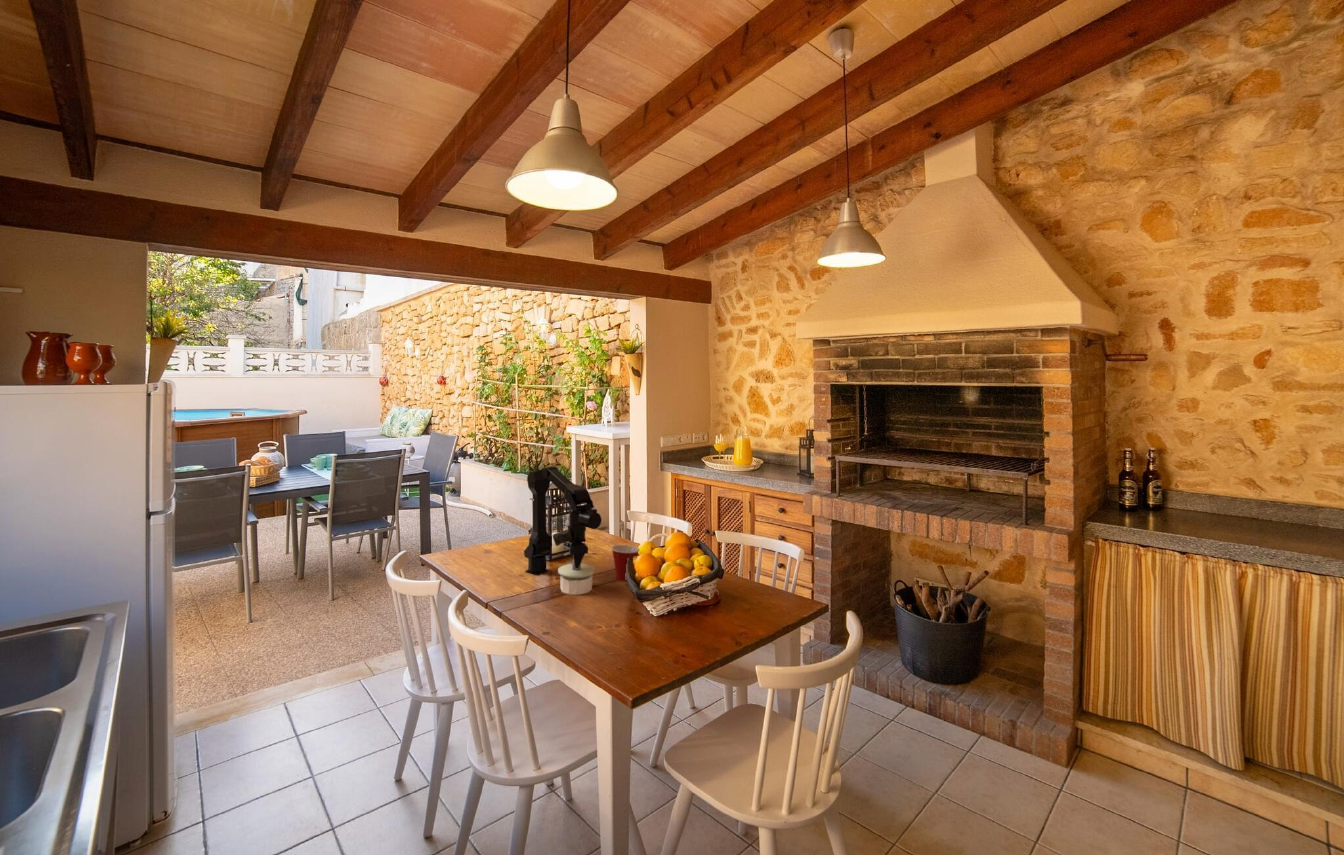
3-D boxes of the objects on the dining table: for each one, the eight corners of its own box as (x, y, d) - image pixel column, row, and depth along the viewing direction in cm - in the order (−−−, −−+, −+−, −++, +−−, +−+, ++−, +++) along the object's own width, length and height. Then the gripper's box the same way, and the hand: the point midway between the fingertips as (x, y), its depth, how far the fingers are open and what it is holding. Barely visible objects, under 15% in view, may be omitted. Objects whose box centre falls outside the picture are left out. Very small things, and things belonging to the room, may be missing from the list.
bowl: (554, 590, 212) (554, 576, 211) (574, 582, 221) (574, 568, 221) (578, 597, 206) (578, 583, 206) (597, 588, 215) (598, 574, 215)
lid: (550, 573, 211) (550, 560, 210) (574, 563, 222) (574, 552, 222) (578, 580, 204) (578, 567, 204) (602, 570, 215) (602, 558, 215)
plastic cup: (644, 579, 227) (645, 548, 226) (621, 585, 219) (622, 553, 218) (627, 571, 235) (628, 541, 234) (604, 577, 227) (605, 546, 226)
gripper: (553, 518, 219) (552, 559, 220) (555, 530, 201) (554, 576, 202) (583, 517, 221) (582, 558, 223) (588, 529, 203) (587, 574, 205)
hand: (576, 566), depth 213 cm, fingers closed on lid, 3 cm apart
